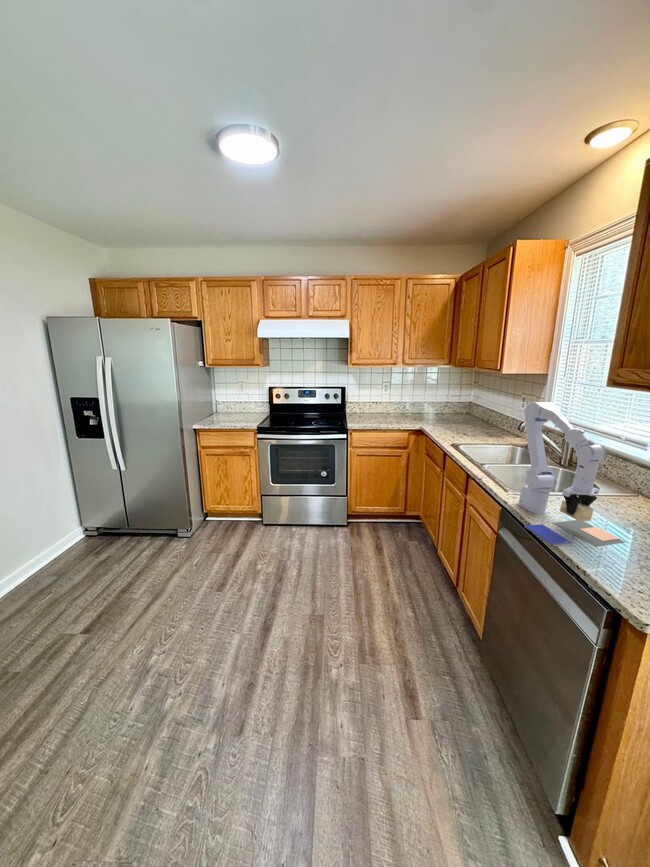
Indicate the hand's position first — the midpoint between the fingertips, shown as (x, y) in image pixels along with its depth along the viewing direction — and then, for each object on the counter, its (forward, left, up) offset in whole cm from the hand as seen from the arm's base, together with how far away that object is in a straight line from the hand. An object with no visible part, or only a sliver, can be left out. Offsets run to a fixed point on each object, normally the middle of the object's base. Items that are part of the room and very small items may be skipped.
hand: (575, 513), depth 119 cm
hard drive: (+2, -14, -7) cm, 15 cm away
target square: (+5, +6, -6) cm, 10 cm away
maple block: (0, 0, -1) cm, 1 cm away
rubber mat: (+3, +3, -7) cm, 8 cm away
